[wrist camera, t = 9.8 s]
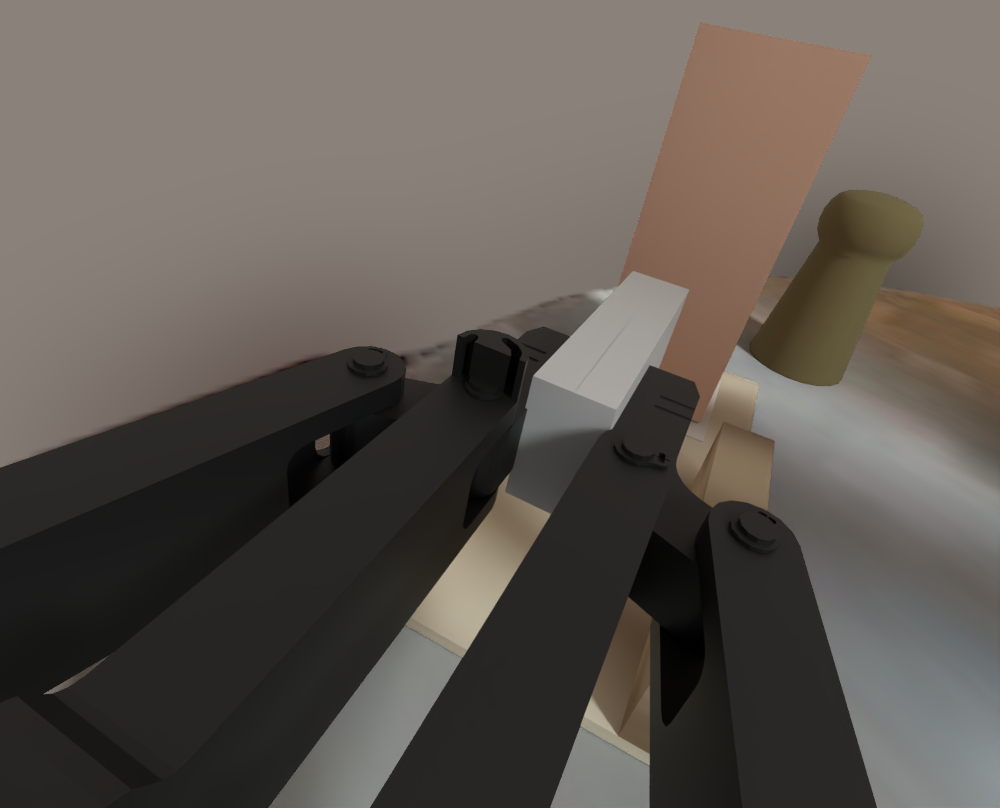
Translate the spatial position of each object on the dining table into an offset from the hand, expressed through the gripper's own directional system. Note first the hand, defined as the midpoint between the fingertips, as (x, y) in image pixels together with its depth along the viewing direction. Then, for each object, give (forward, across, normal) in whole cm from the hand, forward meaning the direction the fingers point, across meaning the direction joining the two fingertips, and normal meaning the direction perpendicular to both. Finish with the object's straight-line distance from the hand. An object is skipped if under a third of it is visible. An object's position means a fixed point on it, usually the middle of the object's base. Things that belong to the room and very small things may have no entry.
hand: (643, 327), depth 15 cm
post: (+15, 0, -10) cm, 18 cm away
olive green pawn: (+25, +8, -10) cm, 28 cm away
